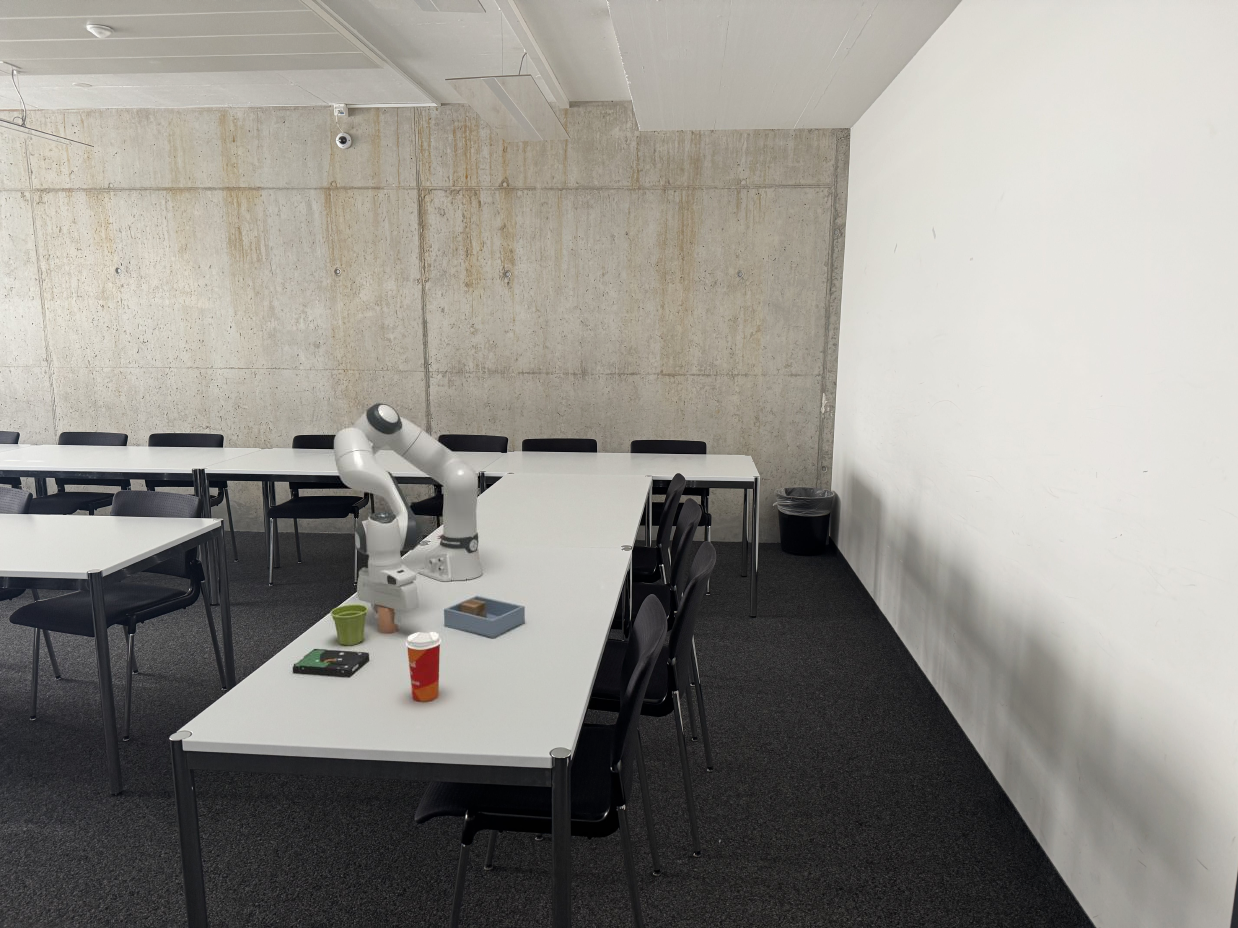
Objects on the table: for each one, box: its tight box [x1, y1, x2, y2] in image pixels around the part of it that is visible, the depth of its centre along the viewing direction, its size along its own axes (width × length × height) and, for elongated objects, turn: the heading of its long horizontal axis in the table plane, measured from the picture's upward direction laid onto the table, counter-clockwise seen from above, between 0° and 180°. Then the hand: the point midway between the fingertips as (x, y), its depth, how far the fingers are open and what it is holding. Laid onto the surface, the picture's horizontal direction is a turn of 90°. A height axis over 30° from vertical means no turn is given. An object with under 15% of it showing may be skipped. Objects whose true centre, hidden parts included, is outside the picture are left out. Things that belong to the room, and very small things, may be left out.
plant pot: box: [329, 604, 369, 646], centre depth 206 cm, size 9×9×9 cm
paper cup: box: [405, 631, 442, 703], centre depth 174 cm, size 8×8×14 cm
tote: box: [443, 595, 526, 640], centre depth 218 cm, size 18×14×5 cm
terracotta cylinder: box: [377, 605, 399, 635], centre depth 214 cm, size 5×5×7 cm
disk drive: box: [292, 648, 370, 679], centre depth 190 cm, size 10×3×15 cm
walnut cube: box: [461, 599, 487, 618], centre depth 220 cm, size 5×5×5 cm
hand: (387, 620), depth 214 cm, fingers open, 5 cm apart
